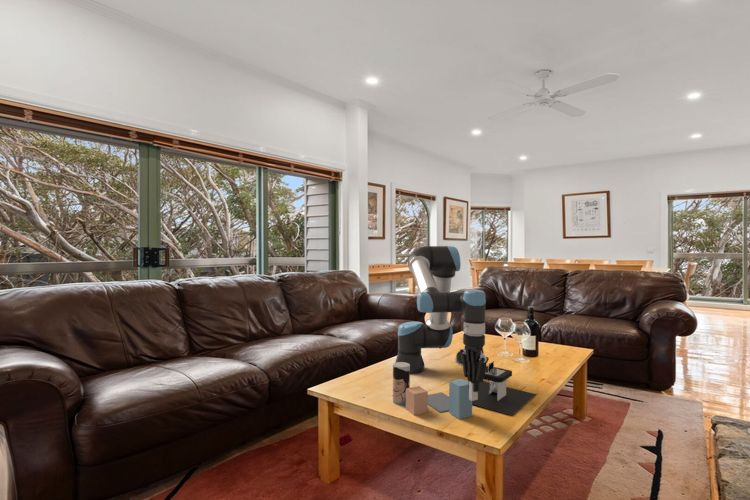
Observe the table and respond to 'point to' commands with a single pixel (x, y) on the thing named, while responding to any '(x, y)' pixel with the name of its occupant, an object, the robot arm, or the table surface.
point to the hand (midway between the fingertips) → (473, 399)
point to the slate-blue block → (459, 399)
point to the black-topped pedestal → (500, 392)
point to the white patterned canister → (400, 382)
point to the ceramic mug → (459, 358)
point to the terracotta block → (416, 400)
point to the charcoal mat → (439, 402)
